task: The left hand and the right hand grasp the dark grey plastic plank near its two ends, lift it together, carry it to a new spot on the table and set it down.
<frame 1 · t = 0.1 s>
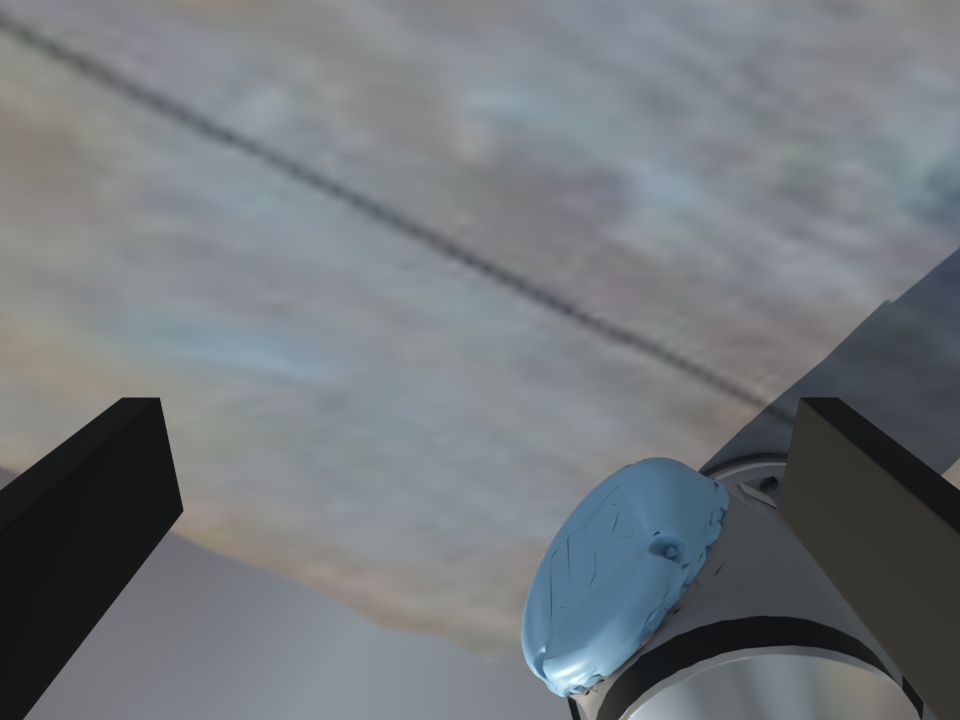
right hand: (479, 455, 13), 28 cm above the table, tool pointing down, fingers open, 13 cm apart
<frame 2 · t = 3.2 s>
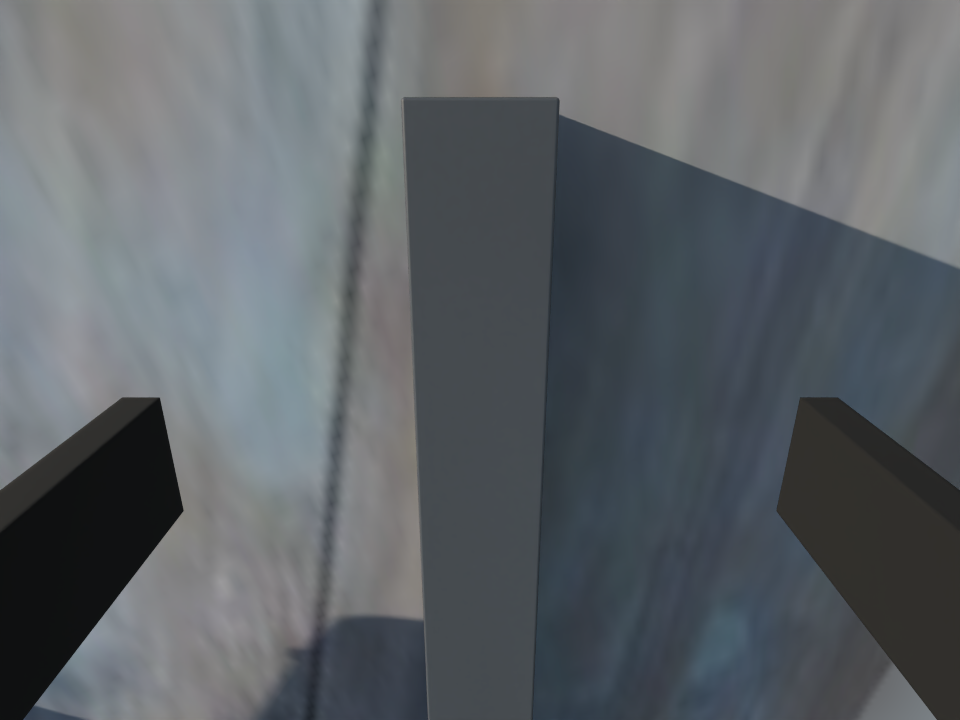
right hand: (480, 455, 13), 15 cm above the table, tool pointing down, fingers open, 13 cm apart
plank: (480, 632, 34), on the table, touching left hand
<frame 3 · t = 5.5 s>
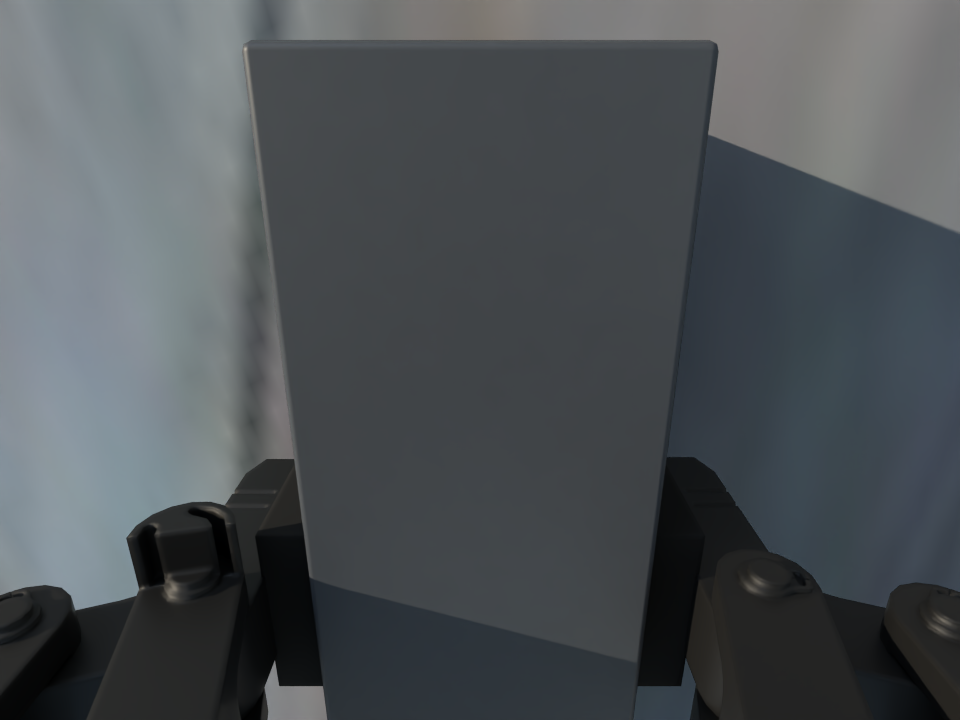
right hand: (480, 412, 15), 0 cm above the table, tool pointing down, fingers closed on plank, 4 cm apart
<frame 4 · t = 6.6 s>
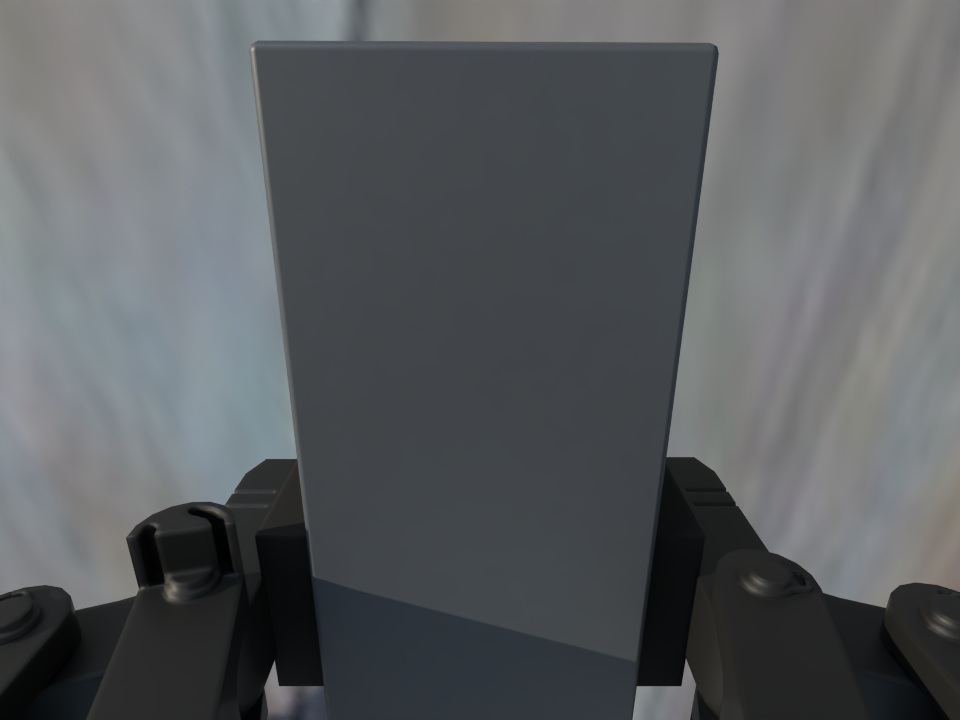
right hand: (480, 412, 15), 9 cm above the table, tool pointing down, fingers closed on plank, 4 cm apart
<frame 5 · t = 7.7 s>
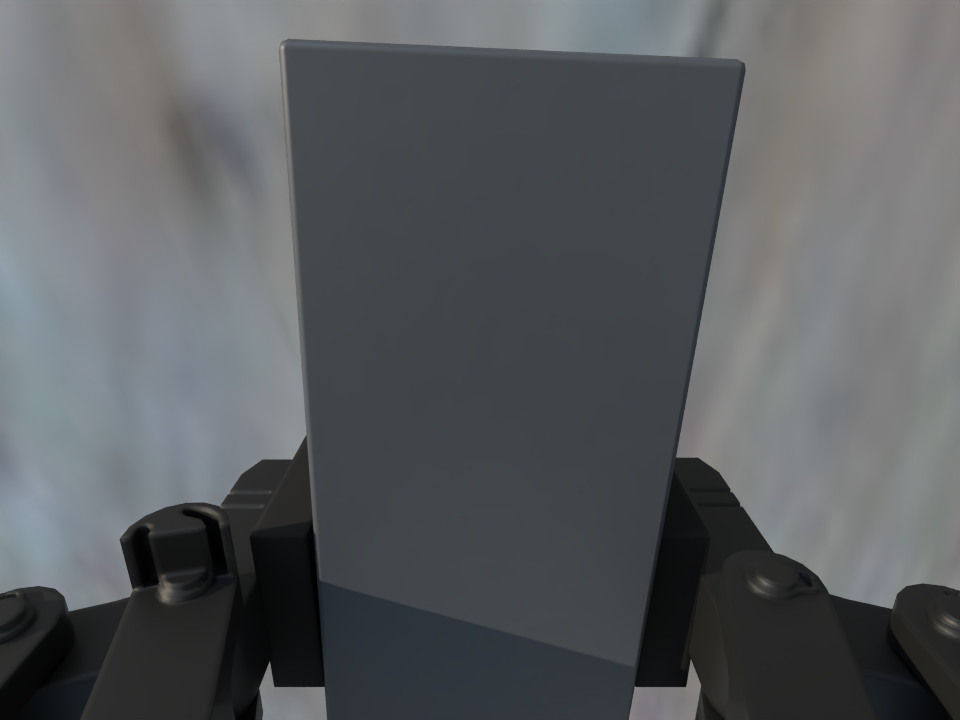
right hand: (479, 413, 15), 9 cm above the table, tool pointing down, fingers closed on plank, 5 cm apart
when the left hand's fingers open (1 cm above the table, at t = 10.2 s): plank stays where it is, on the table.
when the right hand's fingers open (1 cm above the table, at t = 10.2 s): plank stays where it is, on the table.
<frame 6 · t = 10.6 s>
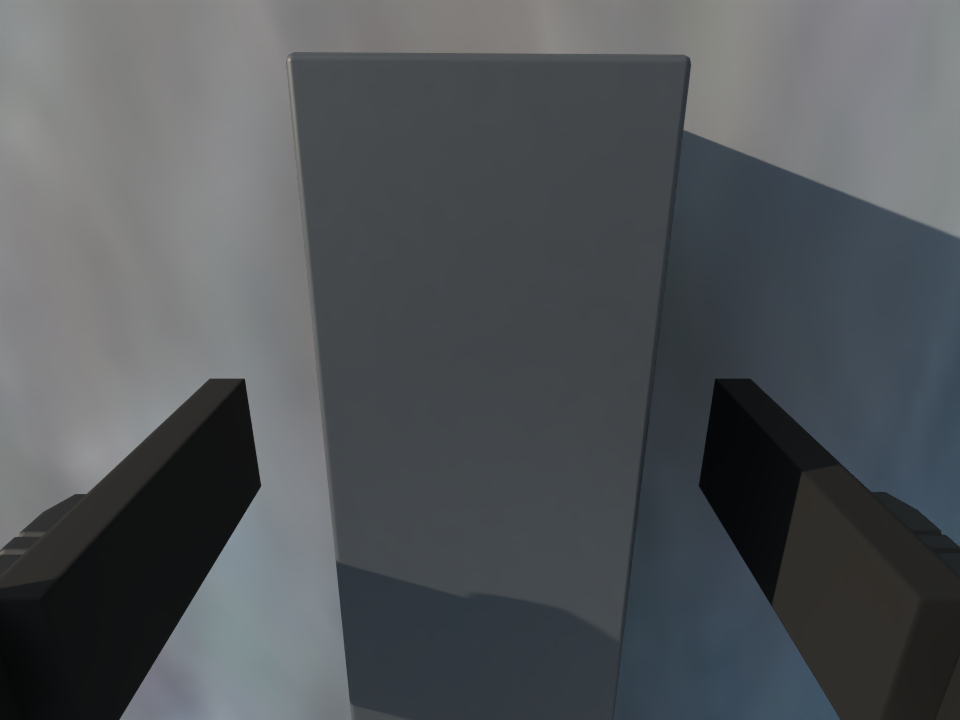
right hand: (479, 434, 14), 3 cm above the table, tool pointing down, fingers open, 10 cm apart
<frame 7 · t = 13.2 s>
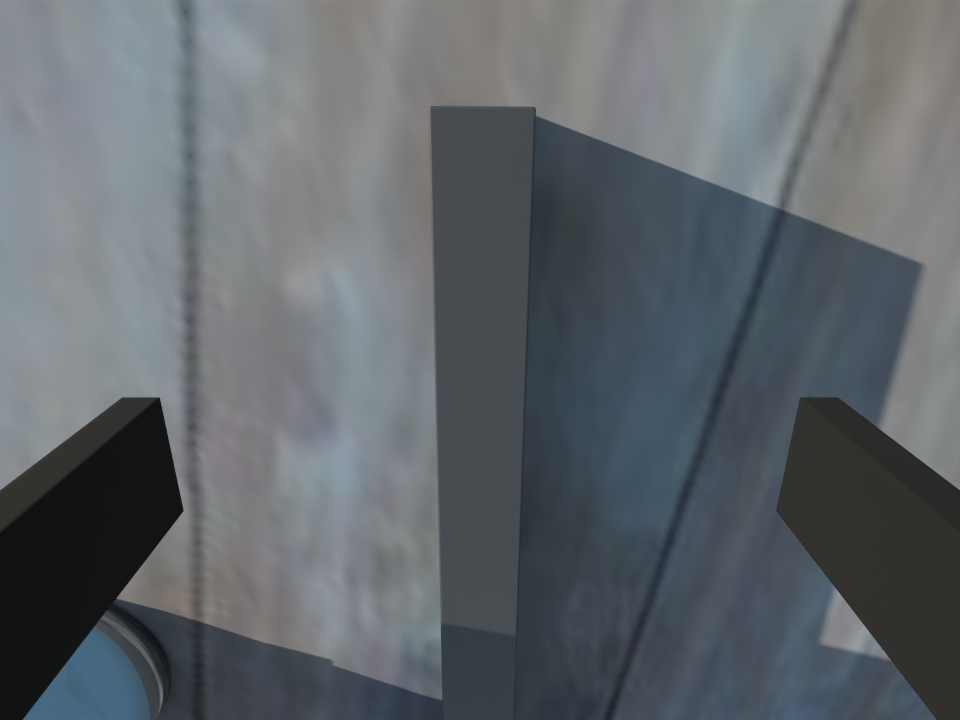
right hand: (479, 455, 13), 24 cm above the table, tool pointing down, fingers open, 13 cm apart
plank: (479, 531, 42), on the table
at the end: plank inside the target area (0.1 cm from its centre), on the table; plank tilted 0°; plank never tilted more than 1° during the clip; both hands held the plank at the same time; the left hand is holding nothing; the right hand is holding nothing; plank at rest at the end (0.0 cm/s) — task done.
